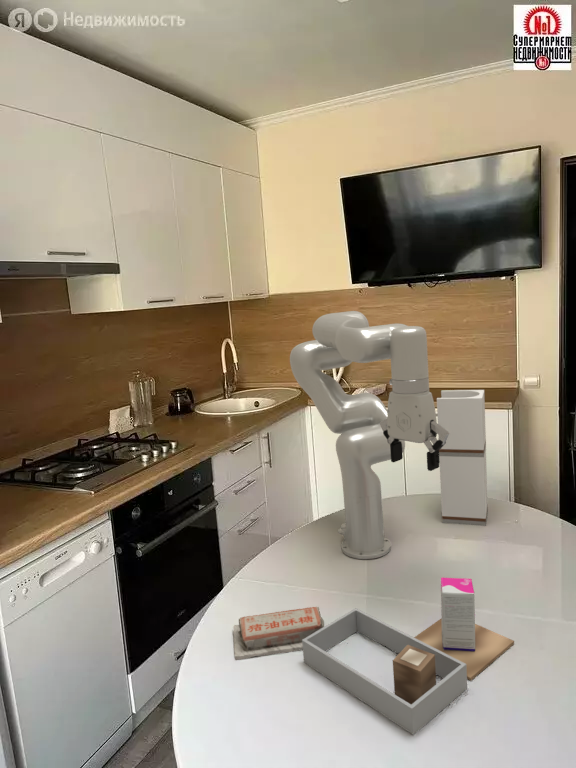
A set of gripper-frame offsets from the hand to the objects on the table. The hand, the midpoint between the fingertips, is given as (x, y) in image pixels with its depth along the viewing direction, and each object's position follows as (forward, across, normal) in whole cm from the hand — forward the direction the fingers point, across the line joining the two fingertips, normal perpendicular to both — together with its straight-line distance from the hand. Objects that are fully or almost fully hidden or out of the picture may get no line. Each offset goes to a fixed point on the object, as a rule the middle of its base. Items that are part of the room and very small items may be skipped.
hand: (414, 464), depth 126 cm
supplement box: (+28, +18, -12) cm, 35 cm away
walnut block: (+28, +20, -28) cm, 45 cm away
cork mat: (+28, +18, -12) cm, 36 cm away
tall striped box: (+28, -14, +38) cm, 50 cm away
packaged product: (+29, -9, -34) cm, 45 cm away
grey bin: (+28, +13, -28) cm, 42 cm away
